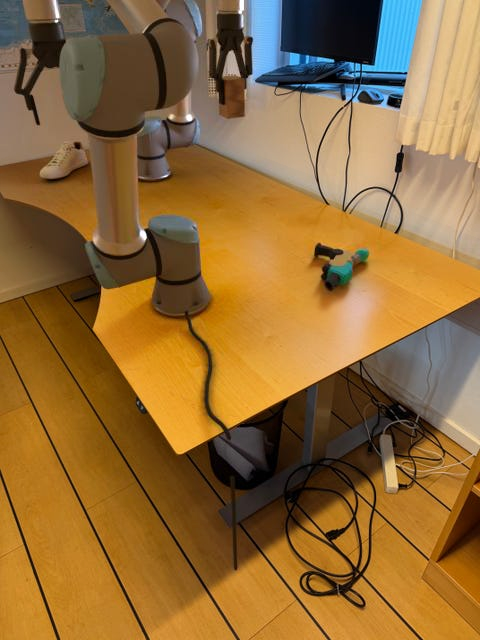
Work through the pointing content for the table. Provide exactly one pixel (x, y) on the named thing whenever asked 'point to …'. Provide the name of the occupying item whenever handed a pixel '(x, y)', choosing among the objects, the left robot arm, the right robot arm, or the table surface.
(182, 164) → the table surface
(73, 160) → the sneaker
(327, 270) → the toy gun
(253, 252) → the table surface
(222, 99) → the left robot arm
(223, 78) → the brick
